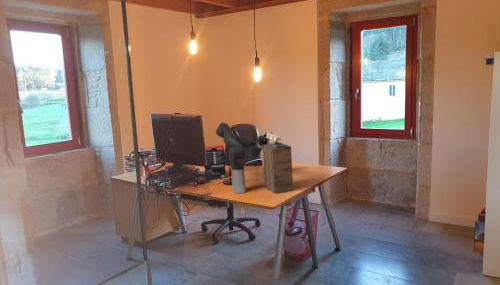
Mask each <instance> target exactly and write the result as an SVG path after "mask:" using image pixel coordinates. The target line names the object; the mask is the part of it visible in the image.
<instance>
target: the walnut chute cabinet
mask: <svg viewBox="0 0 500 285" xmlns="http://www.w3.org/2000/svg"><path fill="white" fill-rule="evenodd" d="M273 142H274V143H272V142H267V144H266V145H263V149H262V154H263V155H262V156H263V172H264V185H265V186H264V187H265V188H266V189H267V190H269V191H270V192H271V191H272V192H271V193H273V194H274V193H278V194H282V193H281V192H284V193H288V191H289V192H293V191H294V183H293V182H294V181H293V178H294V177H293V163H292V162H293V159H292V158H293V157H292V146H291V145H288V144H285V143H282V142H280V141H273Z"/></svg>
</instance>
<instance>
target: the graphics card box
mask: <svg viewBox="0 0 500 285" xmlns="http://www.w3.org/2000/svg"><path fill="white" fill-rule="evenodd" d="M204 147H205V148H206V159H207V165H206V166H205V165H204V173H205V174H204V176H205V179H206V178H207V179H206V180H217V179H226V177H227V173H226V161H225V159H226V158H225V156H226V155H225V148H224V147H225V146H224V145H223V144H219V145H208V146H206V145H205V146H204Z"/></svg>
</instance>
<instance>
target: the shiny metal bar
mask: <svg viewBox="0 0 500 285" xmlns="http://www.w3.org/2000/svg"><path fill="white" fill-rule="evenodd" d="M265 133H267V136H266V137H265V138H268V139H270V140H269V141H273V142H274V141H276V142H281V141H282V136H280V135H278V134H274V133H273V132H272V133H273V134H272V133H271V132H268V131H266V132H262V136H263V135H264V134H265Z"/></svg>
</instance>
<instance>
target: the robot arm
mask: <svg viewBox="0 0 500 285" xmlns="http://www.w3.org/2000/svg"><path fill="white" fill-rule="evenodd" d="M264 133H265V132H264ZM270 133H272V134H274V133H273V132H270ZM215 134H216V135H217V136H218V137H220V138H222V139H223V143H224V144H225V146H226V147H227V148H229V152H228V154H229V159H230V170H231V182H232V192H233V194H238V193H239V194H243V193H246V191H247V190H246V176H245V174H246V173H245V165H244V163H242V162H237V161H236V160H243V159H245V157H246V154H247V153H246V150H245V149H247V150H249V149H250V147H252V148H251V151H250V152H251V154H252V155H253V156H254V157H256V156H257V157H258V156H259V155H260V154H261V152H262V151H263V145H266V144H267V142H269V141H271V140H270V139H268V138H265V137H266V136H267V133H265V134H264V135H263V134H261V135H259V136H258V137H256V140H257V141H255V142H254V141H251V140H250V139H247V138H245V136H235V134H234V133H233V131H232V128H231V127H230V126H229V124H228V123H226V122H220V123H219V125H218V127H217V129H216V130H215ZM269 143H270V142H269Z"/></svg>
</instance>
